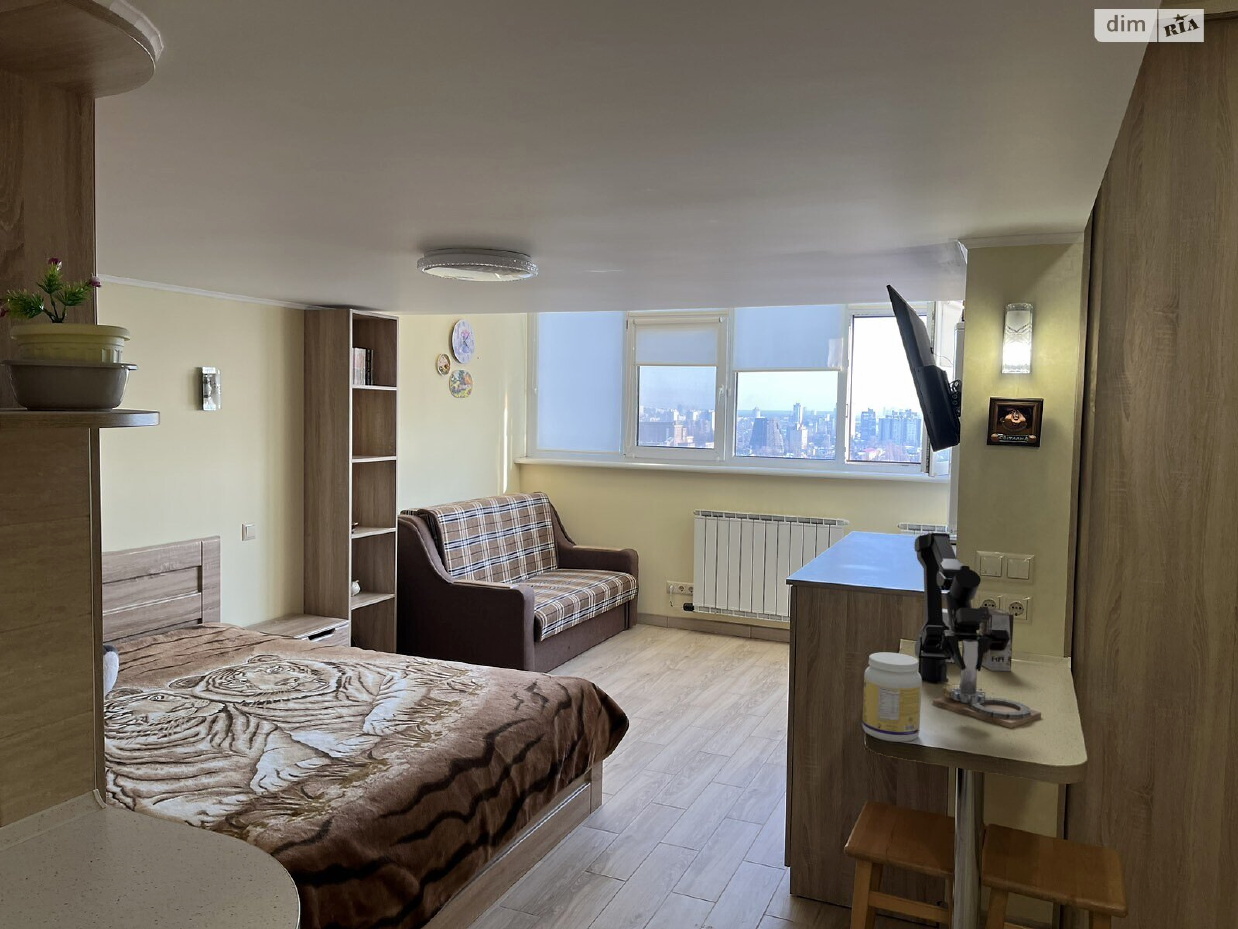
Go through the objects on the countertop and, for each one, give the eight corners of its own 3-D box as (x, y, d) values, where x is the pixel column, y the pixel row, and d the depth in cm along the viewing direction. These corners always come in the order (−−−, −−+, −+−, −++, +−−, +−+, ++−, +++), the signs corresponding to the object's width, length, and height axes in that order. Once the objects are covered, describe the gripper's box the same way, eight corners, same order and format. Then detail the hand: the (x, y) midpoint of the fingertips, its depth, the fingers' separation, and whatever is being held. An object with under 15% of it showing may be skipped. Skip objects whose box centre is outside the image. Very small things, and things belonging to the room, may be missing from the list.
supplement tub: (865, 721, 202) (868, 648, 201) (921, 729, 197) (924, 655, 196) (858, 738, 190) (861, 661, 190) (917, 747, 186) (920, 668, 185)
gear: (945, 697, 203) (947, 639, 203) (962, 692, 208) (964, 635, 207) (973, 705, 198) (976, 646, 197) (991, 700, 202) (993, 642, 201)
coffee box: (1012, 671, 248) (1014, 615, 247) (989, 670, 248) (991, 614, 247) (998, 663, 257) (1001, 608, 256) (976, 662, 257) (979, 607, 257)
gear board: (929, 703, 216) (930, 684, 216) (960, 694, 224) (961, 675, 224) (1010, 728, 199) (1011, 706, 199) (1040, 717, 208) (1041, 697, 207)
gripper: (926, 591, 207) (935, 649, 196) (1009, 595, 204) (1023, 654, 194) (917, 617, 215) (926, 674, 204) (997, 621, 213) (1009, 679, 202)
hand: (970, 670), depth 201 cm, fingers closed on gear, 3 cm apart
